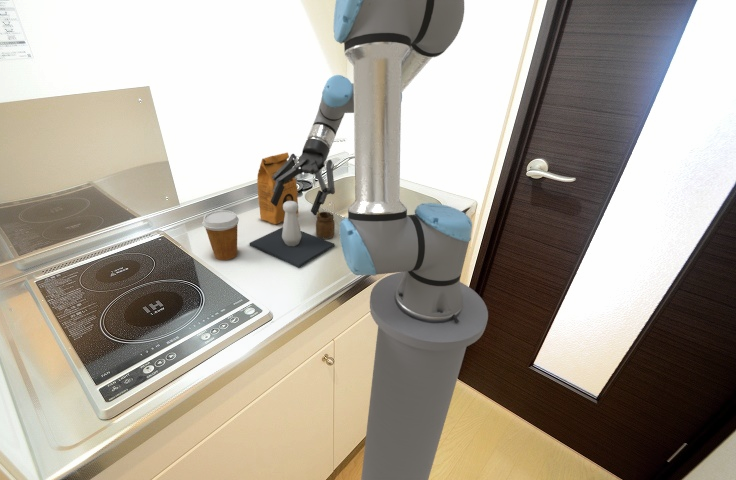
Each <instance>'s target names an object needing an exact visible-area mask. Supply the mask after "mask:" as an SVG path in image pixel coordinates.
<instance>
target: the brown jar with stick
mask: <svg viewBox="0 0 736 480" xmlns="http://www.w3.org/2000/svg"><path fill="white" fill-rule="evenodd" d="M331 204H332V207H331ZM328 206H329V208H328ZM335 206H336V205H335V204H334V202H333V201H330V202H329V203H328V204H327V208H326V209H328V210H330V208H331V210H330V211H321V212H320V209H319V210H318V213H317V215H316V221H315V235H316V237H318V238H321V239H324V240H327V239H331V238H333V237H334V236H335V230H336V229H335V227H336V226H335V225H336V223H335V219H334V218H335V216H334V213H333V210H334V209H335Z"/></svg>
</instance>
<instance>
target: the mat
mask: <svg viewBox="0 0 736 480" xmlns="http://www.w3.org/2000/svg"><path fill="white" fill-rule="evenodd" d="M282 231H283V226H282V227H280V228H278V229H276V230H273V231H271V232H268V233H267V234H265V235H263V236H261V237H259V238H257V239H254V240H252V241H250V242H249V246H250V247H252V248H254V249H256V250H258V251H260V252H263V253H265V254H266V255H269V256H271V257H273V258H275V259H278V260H280V261H283V262H284V263H287V264H289V265H292V266H293V267H296V268H298V269H300V268H302V267H303V266H305V265H307V264H308V263H310V262H312V261H313V260H315V259H317V258H318V257H320V256H321V255H323V254H324V253H325V254H326V252H328V251H330V250H331V249H333V248H334V247H335V245H336V244H335V243H334V242H331V241H329V240H327V239H322V238H319V237H318V236H317V235H316V236H315V235H313V234H311V233H308V232H305V231H302V230H300V231H301V235H302V236H301V240H300V242H299V244H298V245H296V246H288V245H286V244H285V242H284V240H283V238H282Z"/></svg>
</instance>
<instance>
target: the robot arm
mask: <svg viewBox="0 0 736 480" xmlns="http://www.w3.org/2000/svg"><path fill="white" fill-rule="evenodd" d="M464 17H465V0H335V4H334V15H333V37H334V40H335V42H337V43H339V44H340V45H342V44H343V46H344V47H343V51H344V57H345V58H346V60H347V61H348V62H349V63H350V64H351V65H352V68H353V69H352V72H353V73H352V76H353V82H351V80H350V79H349V78H348V77H346V76H343V75H341V74H336V75H332V76H331V77H329V78H328V79H327V81H326V83H325V85H324V87H323V89H322V91H321V92H322V93H321V99H320V103H319V107H318V111H317V114H316V116H315V119H314V121H313V124H312V126H311V128H310V131H309V133H308V135H307V137H306V141H305V142H304V146H303V147H302V152H301V155H300V156H297V155H296V154H295V153H291V154H290V155H289V158H288V159H287V162H286V163H285V164H284V165H283V166H282V167H281V168H280V169H279V170H278V171H277V172H276V173H275V174H274V175H273V176H272V179H273V180H274V181H275V182H276V184H275V187H274V189H273V193H274V194H273V197H272V199H271V203H272V204H273V205H274V206H277V204H278V202H279V199H280V197H281V194H282V192H283V190H284V186H283V185H284V184H285V183H286V182H288V181H289V180H291V179H292V178H295V177H297V176H298V175H302V174H303V173H304V174H309V175H311V176H312V175H313V176H314V175H315V176H316V178H317V181H318V184H319V187H320V189H321V190H320V189H319V190H318V191H317V194H316V195H315V199H314V201H313V203H312V206H311V209H310V212H311V213H312V214H313V216H317V215H318V210H319V211H320V207H321V205H324V204H325V202H326V199H327V196H328V195H335V193H336V188H335V180H334V168H335V164H334V162H333V161H332V160H331V159H328V156H329V154H330V151H331V150H330V149H332V146H333V143H334V142H335V138H336V136H337V133H338V130H339V128H340V125H341V124H342V121H343V118H344V117H345V114H353V128H354V129H353V133H354V136H353V137H354V141H353V142H354V193H355V194H354V195H355V198H354V202H353V203H352V204H351V205H350V206H349V207H348V208H347V217H345V218H343V219H341V220H340V222H339V238H340V239H339V240H340V245H341V250H342V254H343V257H344V260H345V263H346V265H347V267H348V269H349V270H350V272H351V273H352V274H353V275H355V276H373V277H375V276H377V275H387V274H396V273H400V272H405V274H404V276H403V278H402V279H401V281H400V283H399V285H398V287H397V289H396V294H395V302H396V304H397V306H398V308H399V309H400V310H401V311H402V312H403V313H405V314H406V315H408V316H409V317H411V318H414V319H416V320H419V321H423V322H428V323H444V322H448V321H451V320H453V319H454V321H455V322H456V323H458V322H459V320H458V319H457V317H458V316H459V314H460V312H461V309H462V305H463V298H462V291H461V284H460V282H461V277H462V273H463V269H464V265H465V260H466V257H467V252H468V248H469V244H470V242H471V241H472V231H473V222H472V219H471V218H470V217H469V215H467V214H466V213H465V212H464V211H462V210H460V209H457V208H455V207H452V206H449V205H446V204H442V203H436V202H423V203H420V204H418V205H417V206H416V208H415V209H414V213H413V214H408V207H407V206H406V205H405V204H404V203H403V202H402V201H401V199H400V189H401V187H400V185H401V184H400V183H401V181H400V180H401V177H400V176H401V133H402V132H401V131H402V130H401V129H402V128H401V125H402V102H403V92H404V91H405V90H406V89H407V87H408V86H409V85H410V84H411V83H412V81H414V79H416V77H417V76H418V75H419V74H420V73H421V71H422V70H423V69H424V68H425V67H426V65H427V64H428V63H430V61H431V60H432V59H433V58H436V57H437V58H438V57H439V56H441V55H442V54H444V53H445V52H446V51H447V50H448V49H449V47H450V46H451V45H452V44H453V42H454V41H455V39H456V38H457V37H458V34H459V33H460V30H461V28H462V24H463V22H464ZM327 159H328V160H327ZM323 168H325V169H326V180H327V185H326V182H325V180H324V177H323V174H322V172H321V170H322V169H323Z"/></svg>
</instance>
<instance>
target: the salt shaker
mask: <svg viewBox="0 0 736 480" xmlns="http://www.w3.org/2000/svg"><path fill="white" fill-rule="evenodd" d="M283 210H284V211H285V217H284V221H283V225H282V227H283V231H282V238H283V240H284V242H285V244H286V245H288V246H296V245H298V244H299V242H300V240H301V236H302V235H301V231H302V230H301V227H300V223H299V218H298V215H297V214H296V211H298V212H299V203H298V204H297V203H296V202H295V201H287V202H285V203H284V204H283Z"/></svg>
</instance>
